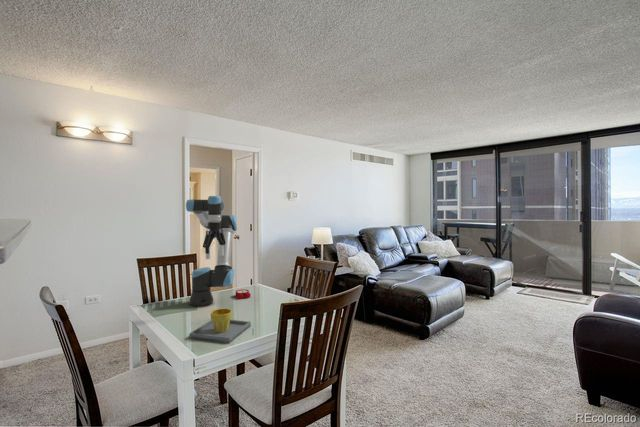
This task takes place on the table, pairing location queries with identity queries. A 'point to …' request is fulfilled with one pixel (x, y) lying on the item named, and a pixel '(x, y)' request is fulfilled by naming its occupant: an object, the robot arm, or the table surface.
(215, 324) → the plant pot
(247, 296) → the alarm clock
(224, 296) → the table surface
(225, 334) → the tray
